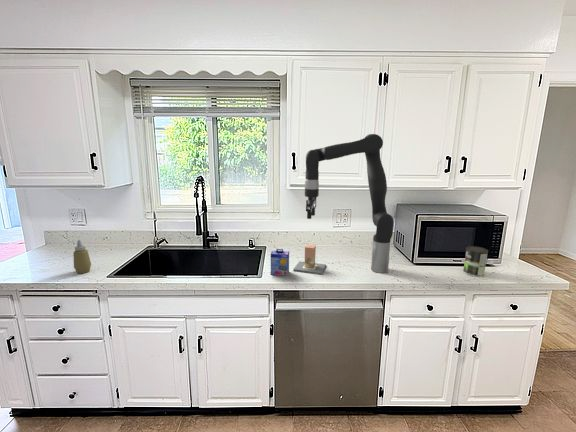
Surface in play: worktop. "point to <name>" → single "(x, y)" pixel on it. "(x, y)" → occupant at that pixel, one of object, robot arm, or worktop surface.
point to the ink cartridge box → (279, 262)
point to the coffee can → (475, 261)
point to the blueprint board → (316, 270)
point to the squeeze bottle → (81, 259)
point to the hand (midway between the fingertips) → (311, 217)
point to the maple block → (309, 262)
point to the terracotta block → (310, 251)
